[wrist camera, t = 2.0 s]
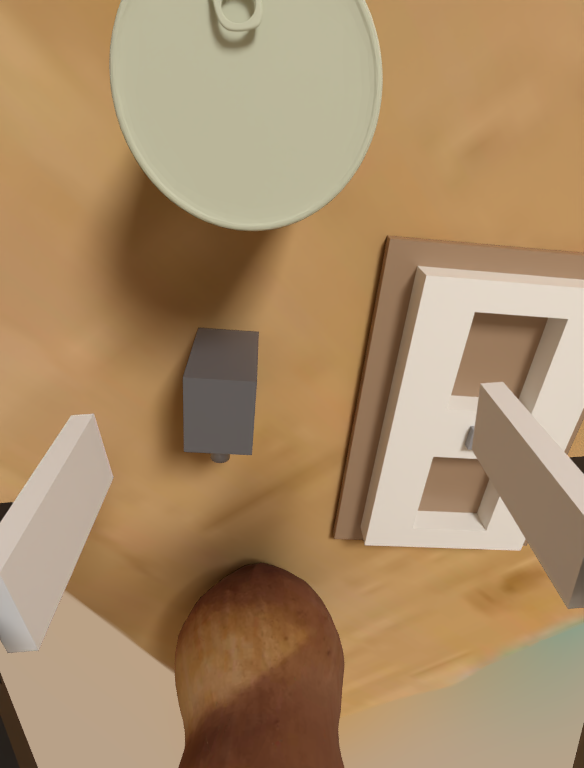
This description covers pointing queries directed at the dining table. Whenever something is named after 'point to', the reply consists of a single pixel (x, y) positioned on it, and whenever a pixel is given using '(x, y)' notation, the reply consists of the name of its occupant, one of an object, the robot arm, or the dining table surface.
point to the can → (247, 102)
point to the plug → (220, 393)
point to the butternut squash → (260, 675)
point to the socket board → (457, 386)
